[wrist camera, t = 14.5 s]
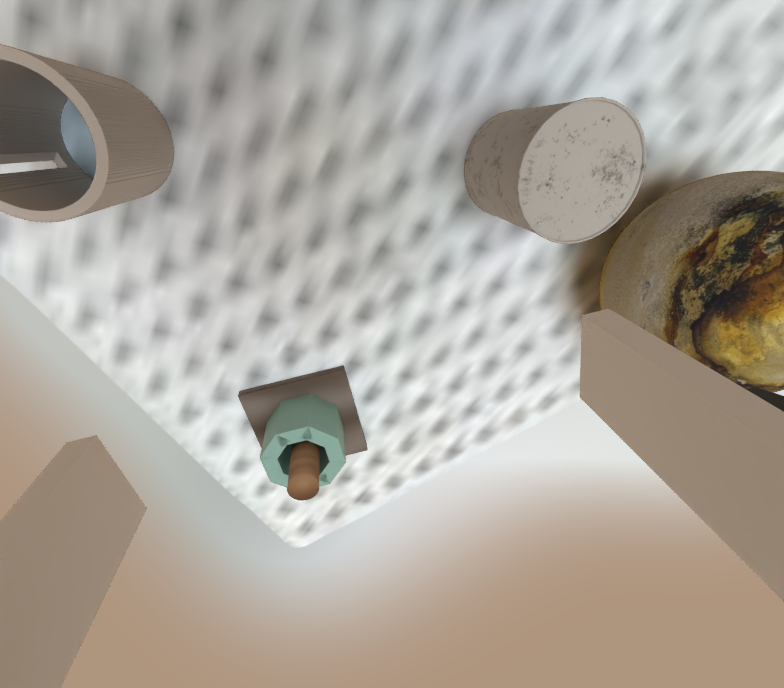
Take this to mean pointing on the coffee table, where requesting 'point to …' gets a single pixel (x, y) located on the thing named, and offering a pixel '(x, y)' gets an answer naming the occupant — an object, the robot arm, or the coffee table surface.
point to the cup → (44, 141)
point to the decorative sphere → (709, 274)
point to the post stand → (306, 453)
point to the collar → (303, 437)
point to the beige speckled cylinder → (558, 167)
